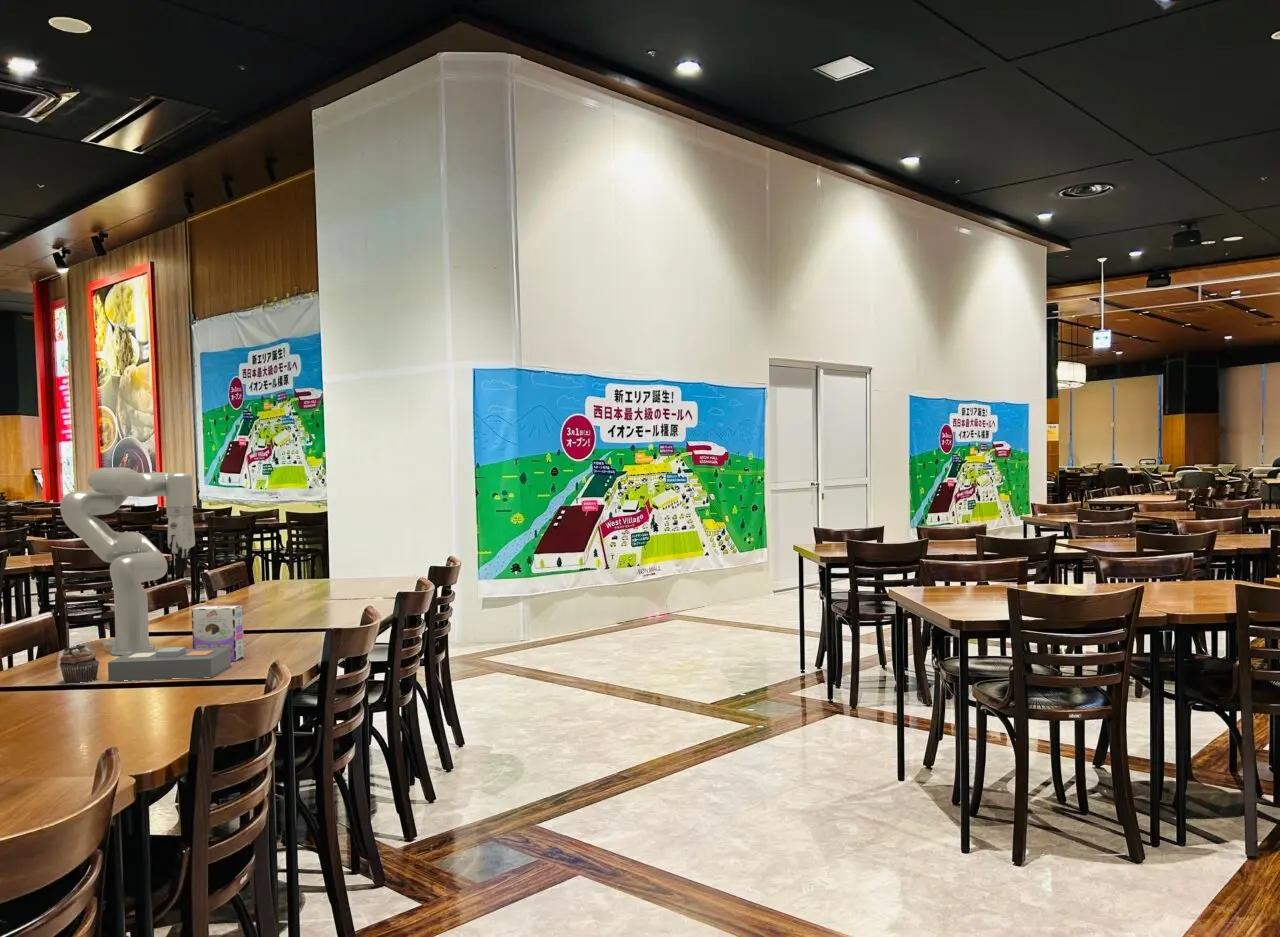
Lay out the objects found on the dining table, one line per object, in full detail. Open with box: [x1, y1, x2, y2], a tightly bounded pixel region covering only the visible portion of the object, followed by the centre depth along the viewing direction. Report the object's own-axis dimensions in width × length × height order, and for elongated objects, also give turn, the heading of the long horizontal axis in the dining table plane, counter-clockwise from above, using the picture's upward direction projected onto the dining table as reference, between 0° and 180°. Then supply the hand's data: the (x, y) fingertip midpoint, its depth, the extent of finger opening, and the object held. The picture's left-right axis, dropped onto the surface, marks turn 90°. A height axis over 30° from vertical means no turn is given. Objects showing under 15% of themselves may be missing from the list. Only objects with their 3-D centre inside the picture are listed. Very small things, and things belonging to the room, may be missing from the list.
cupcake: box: [59, 644, 100, 684], centre depth 275 cm, size 10×10×10 cm
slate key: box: [156, 646, 187, 657], centre depth 281 cm, size 6×6×4 cm
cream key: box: [127, 653, 156, 658], centre depth 281 cm, size 6×6×4 cm
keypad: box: [107, 647, 232, 682], centre depth 281 cm, size 28×16×6 cm, turn 94°
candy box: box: [190, 605, 245, 662], centre depth 300 cm, size 14×6×16 cm, turn 84°
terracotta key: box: [185, 651, 214, 656], centre depth 282 cm, size 6×6×4 cm
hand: (181, 570), depth 305 cm, fingers closed
